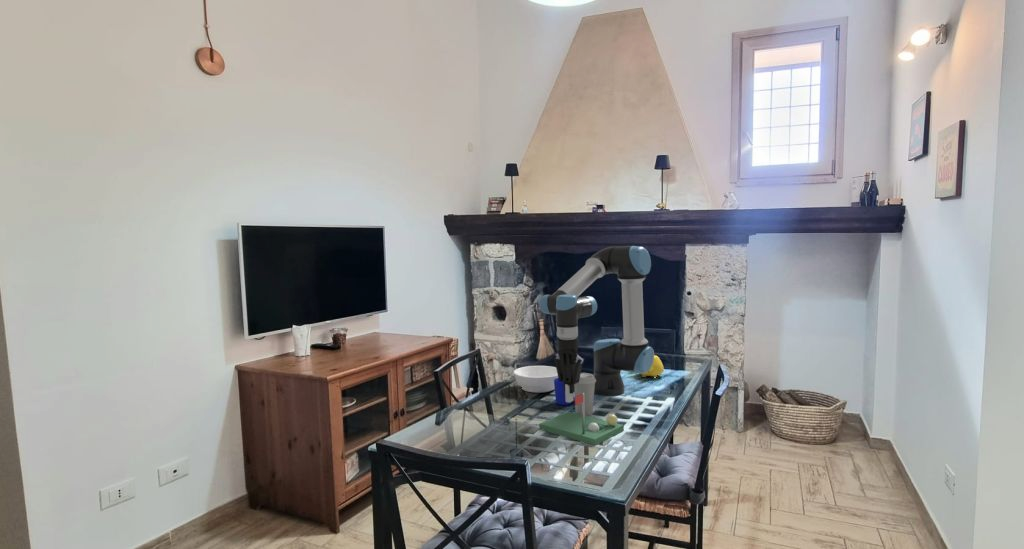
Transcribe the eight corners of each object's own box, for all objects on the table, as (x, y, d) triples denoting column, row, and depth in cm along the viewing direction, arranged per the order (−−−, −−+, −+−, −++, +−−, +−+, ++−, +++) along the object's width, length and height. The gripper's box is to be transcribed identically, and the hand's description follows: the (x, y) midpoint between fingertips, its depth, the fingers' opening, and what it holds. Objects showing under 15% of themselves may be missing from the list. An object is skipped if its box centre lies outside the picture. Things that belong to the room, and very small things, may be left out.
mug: (582, 407, 221) (582, 383, 220) (553, 406, 223) (552, 382, 223) (584, 401, 229) (583, 377, 228) (555, 400, 231) (555, 377, 231)
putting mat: (569, 416, 210) (569, 411, 210) (623, 430, 194) (623, 425, 194) (539, 429, 197) (539, 423, 197) (595, 445, 180) (595, 439, 180)
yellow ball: (610, 422, 196) (610, 411, 196) (619, 425, 193) (619, 414, 193) (604, 425, 193) (603, 414, 193) (613, 428, 191) (613, 416, 190)
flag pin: (583, 432, 186) (582, 392, 185) (585, 433, 186) (584, 393, 185) (574, 437, 183) (574, 396, 182) (576, 437, 182) (576, 396, 181)
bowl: (563, 383, 259) (562, 365, 259) (562, 396, 237) (562, 377, 236) (516, 382, 261) (515, 365, 261) (511, 396, 239) (511, 377, 238)
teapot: (634, 370, 281) (634, 348, 280) (664, 372, 276) (664, 349, 275) (630, 380, 262) (630, 356, 261) (662, 382, 257) (662, 358, 256)
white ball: (587, 425, 194) (596, 420, 193) (593, 436, 192) (602, 430, 191) (584, 426, 190) (594, 420, 189) (590, 437, 189) (599, 431, 188)
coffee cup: (577, 418, 208) (577, 379, 207) (568, 410, 217) (567, 373, 216) (600, 415, 210) (600, 377, 209) (590, 408, 220) (590, 371, 219)
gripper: (547, 337, 198) (549, 400, 201) (576, 341, 190) (578, 407, 192) (559, 334, 204) (561, 395, 206) (588, 337, 195) (590, 402, 197)
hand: (569, 401), depth 199 cm, fingers closed
